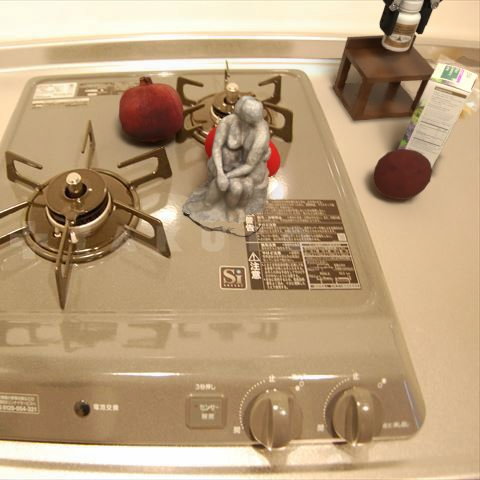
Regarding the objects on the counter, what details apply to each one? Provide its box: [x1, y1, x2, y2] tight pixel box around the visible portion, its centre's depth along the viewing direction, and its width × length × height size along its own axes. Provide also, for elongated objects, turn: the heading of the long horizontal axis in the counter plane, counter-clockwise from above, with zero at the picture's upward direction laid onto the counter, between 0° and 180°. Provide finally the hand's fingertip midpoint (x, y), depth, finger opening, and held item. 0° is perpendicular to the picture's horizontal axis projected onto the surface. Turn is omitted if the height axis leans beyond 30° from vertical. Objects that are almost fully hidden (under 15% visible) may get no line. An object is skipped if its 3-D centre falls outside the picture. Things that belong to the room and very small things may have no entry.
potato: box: [372, 148, 433, 200], centre depth 78 cm, size 7×8×7 cm
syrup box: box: [396, 62, 479, 169], centre depth 81 cm, size 6×6×14 cm
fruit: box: [118, 76, 185, 143], centre depth 85 cm, size 11×10×10 cm
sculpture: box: [181, 95, 271, 234], centre depth 71 cm, size 11×18×12 cm
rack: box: [332, 33, 435, 121], centre depth 93 cm, size 12×10×10 cm
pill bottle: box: [382, 0, 424, 52], centre depth 86 cm, size 4×4×8 cm
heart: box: [204, 125, 282, 178], centre depth 79 cm, size 12×5×10 cm, turn 62°
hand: (400, 29), depth 87 cm, fingers closed on pill bottle, 4 cm apart
